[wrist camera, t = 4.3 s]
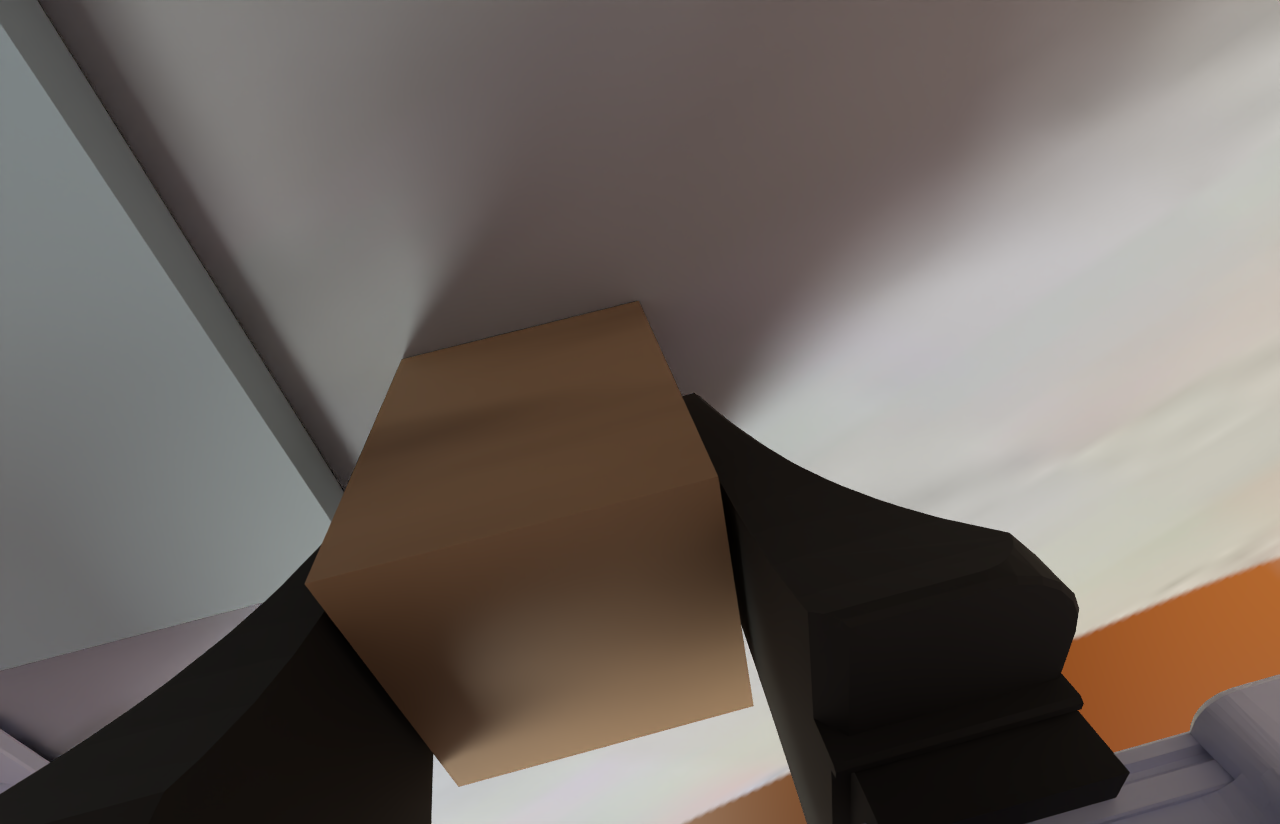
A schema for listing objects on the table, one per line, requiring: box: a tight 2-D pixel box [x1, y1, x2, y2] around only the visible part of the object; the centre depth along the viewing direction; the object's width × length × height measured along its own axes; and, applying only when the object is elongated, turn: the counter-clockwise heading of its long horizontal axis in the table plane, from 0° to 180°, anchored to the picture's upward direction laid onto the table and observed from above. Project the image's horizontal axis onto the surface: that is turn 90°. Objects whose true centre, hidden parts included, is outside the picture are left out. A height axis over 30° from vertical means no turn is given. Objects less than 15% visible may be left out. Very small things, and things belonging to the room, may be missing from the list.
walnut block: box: [305, 301, 753, 787], centre depth 11 cm, size 5×5×6 cm
